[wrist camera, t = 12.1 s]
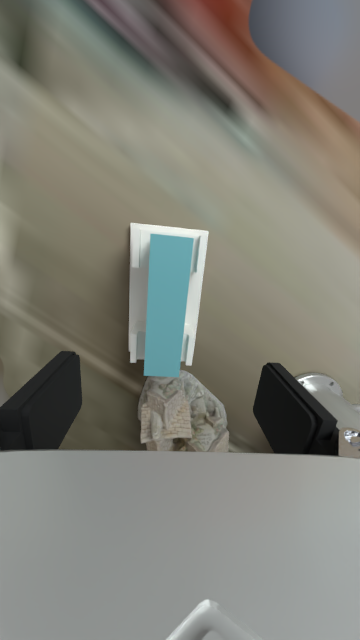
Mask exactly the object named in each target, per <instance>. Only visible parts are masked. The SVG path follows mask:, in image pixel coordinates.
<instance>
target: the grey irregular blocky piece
mask: <svg viewBox="0 0 360 640" xmlns="http://www.w3.org/2000/svg"><path fill="white" fill-rule="evenodd" d="M138 419H139V420H140V421H141V433H140V435H141V443H146V447H147V450H148V451H185V452H228V450H229V448H228V441H229V432H228V430H227V429H226V426H227V420H226V412H225V409H224V405H223V404H222V403H221V402H220V401H219V400H218V399H217V398H216V397H215V396H214V395H213V394H212V393H211V392H210V391H208V389H207V388H205V387H204V386H203V385H202V384H201V383H200V382H199V381H198V380H197V379H196V378H195V377H194V376H193V375H192V374H190V373H188V372H187V371H183V370H180V371H179V377H163V376H148V377H147V381H146V382H145V385H144V387H143V390H142V394H141V396H140V399H139V403H138Z"/></svg>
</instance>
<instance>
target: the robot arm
mask: <svg viewBox="0 0 360 640" xmlns="http://www.w3.org/2000/svg"><path fill="white" fill-rule="evenodd" d="M81 405H82V391H81V374H80V358H79V355H76V353H75V352H70V351H61V352H60V353H59V354H58V355H56V356H55V357H54V358H53V359H52V360H51V361H50V362H49V363H48V364H47V365H46V366H45V367H43V368H42V369H41V370H40V371H39V372H38V373H37V374H36V375H35V376H34V377H33V378H32V379H30V380H29V381H28V382H27V383H26V384H25V385H24V386H23V387H22V388H21V389H20V390H18V391H17V392H16V393H15V394H14V395H13V396H12V397H11V398H10V399H9V400H8V401H7V402H6V403H4V404H3V405H2V406H1V407H0V640H360V404H350V403H349V402H348V401H347V400H346V399H344V398H343V394H342V390H341V388H340V386H339V384H338V383H337V382H336V381H334V380H333V379H332V378H330V377H329V376H327V375H324V374H320V373H308V374H303V375H300V376H298V377H295V378H294V377H293V376H292V375H291V374H290V373H289V372H288V371H287V370H286V369H285V368H284V367H283V366H282V365H281V364H280V363H267V364H266V365H264V366H263V368H262V373H261V377H260V381H259V385H258V389H257V394H256V398H255V402H254V406H253V413H254V416H255V417H256V419H257V421H258V423H259V425H260V427H261V429H262V431H263V432H264V434H265V436H266V438H267V440H268V442H269V444H270V446H271V447H272V449H273V451H274V453H234V452H185V451H133V450H67V449H58V448H59V446H60V444H61V442H62V441H63V439H64V437H65V435H66V433H67V432H68V430H69V428H70V426H71V424H72V423H73V421H74V419H75V417H76V416H77V414H78V412H79V410H80V408H81Z"/></svg>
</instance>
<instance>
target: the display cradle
mask: <svg viewBox="0 0 360 640" xmlns="http://www.w3.org/2000/svg"><path fill="white" fill-rule="evenodd" d="M208 232H209V231H203V230H194V229H184V228H175V227H166V226H156V225H147V224H138V223H131V237H130V295H129V351H130V363H136V361H137V359H145V340H146V319H147V298H148V277H149V256H150V234H160V235H169V236H179V237H188V238H194V242H193V251H192V260H191V269H190V279H189V288H188V297H187V306H186V316H185V325H184V334H183V343H182V353H181V361H185V363H186V365H192V358H193V353H194V345H195V337H196V329H197V321H198V313H199V305H200V297H201V288H202V280H203V272H204V264H205V256H206V248H207V240H208Z"/></svg>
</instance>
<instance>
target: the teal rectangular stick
mask: <svg viewBox="0 0 360 640" xmlns="http://www.w3.org/2000/svg"><path fill="white" fill-rule="evenodd" d="M193 242H194V238H188V237H179V236H169V235H160V234H150V256H149V277H148V298H147V319H146V340H145V361H144V376H163V377H179V371H180V362H181V353H182V343H183V334H184V325H185V316H186V306H187V297H188V288H189V279H190V269H191V260H192V251H193Z"/></svg>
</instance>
